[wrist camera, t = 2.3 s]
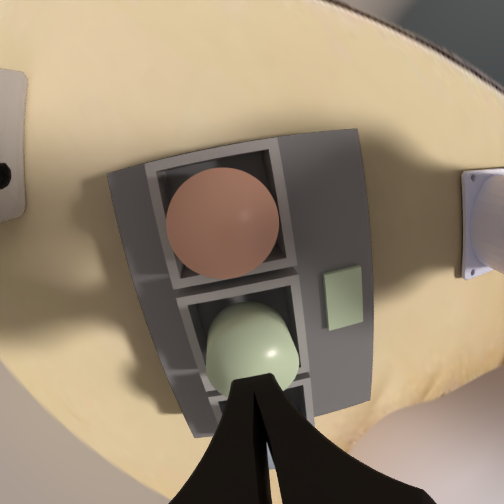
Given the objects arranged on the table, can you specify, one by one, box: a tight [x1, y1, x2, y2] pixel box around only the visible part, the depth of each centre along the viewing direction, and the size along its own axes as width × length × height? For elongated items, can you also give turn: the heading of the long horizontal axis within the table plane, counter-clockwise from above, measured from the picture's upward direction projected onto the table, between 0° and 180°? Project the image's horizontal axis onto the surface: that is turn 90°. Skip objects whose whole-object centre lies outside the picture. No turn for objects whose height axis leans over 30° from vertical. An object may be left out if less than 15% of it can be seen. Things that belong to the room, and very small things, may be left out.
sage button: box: [206, 301, 299, 397], centre depth 12 cm, size 4×4×2 cm
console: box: [107, 129, 374, 438], centre depth 15 cm, size 12×17×4 cm
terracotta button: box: [166, 168, 279, 279], centre depth 11 cm, size 4×4×2 cm
